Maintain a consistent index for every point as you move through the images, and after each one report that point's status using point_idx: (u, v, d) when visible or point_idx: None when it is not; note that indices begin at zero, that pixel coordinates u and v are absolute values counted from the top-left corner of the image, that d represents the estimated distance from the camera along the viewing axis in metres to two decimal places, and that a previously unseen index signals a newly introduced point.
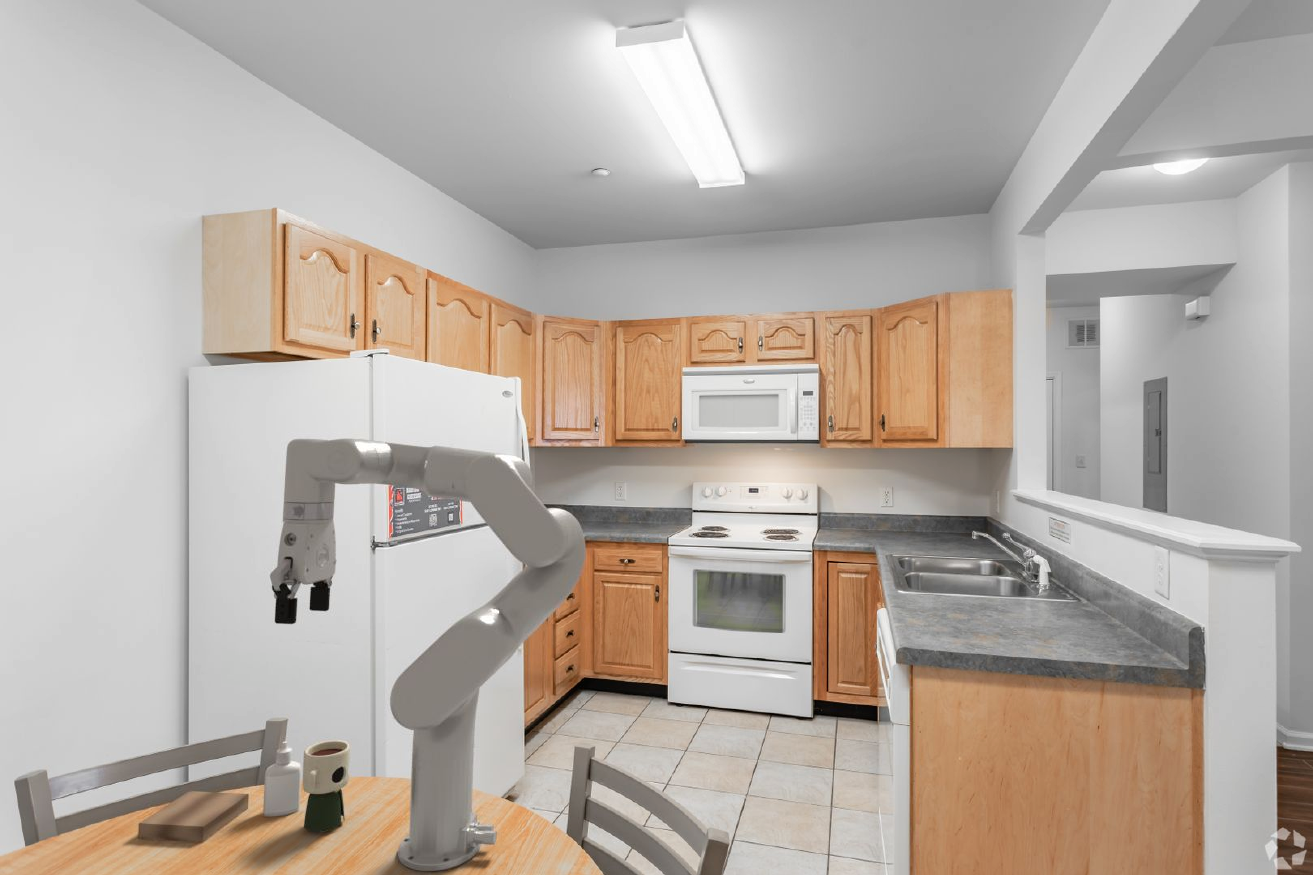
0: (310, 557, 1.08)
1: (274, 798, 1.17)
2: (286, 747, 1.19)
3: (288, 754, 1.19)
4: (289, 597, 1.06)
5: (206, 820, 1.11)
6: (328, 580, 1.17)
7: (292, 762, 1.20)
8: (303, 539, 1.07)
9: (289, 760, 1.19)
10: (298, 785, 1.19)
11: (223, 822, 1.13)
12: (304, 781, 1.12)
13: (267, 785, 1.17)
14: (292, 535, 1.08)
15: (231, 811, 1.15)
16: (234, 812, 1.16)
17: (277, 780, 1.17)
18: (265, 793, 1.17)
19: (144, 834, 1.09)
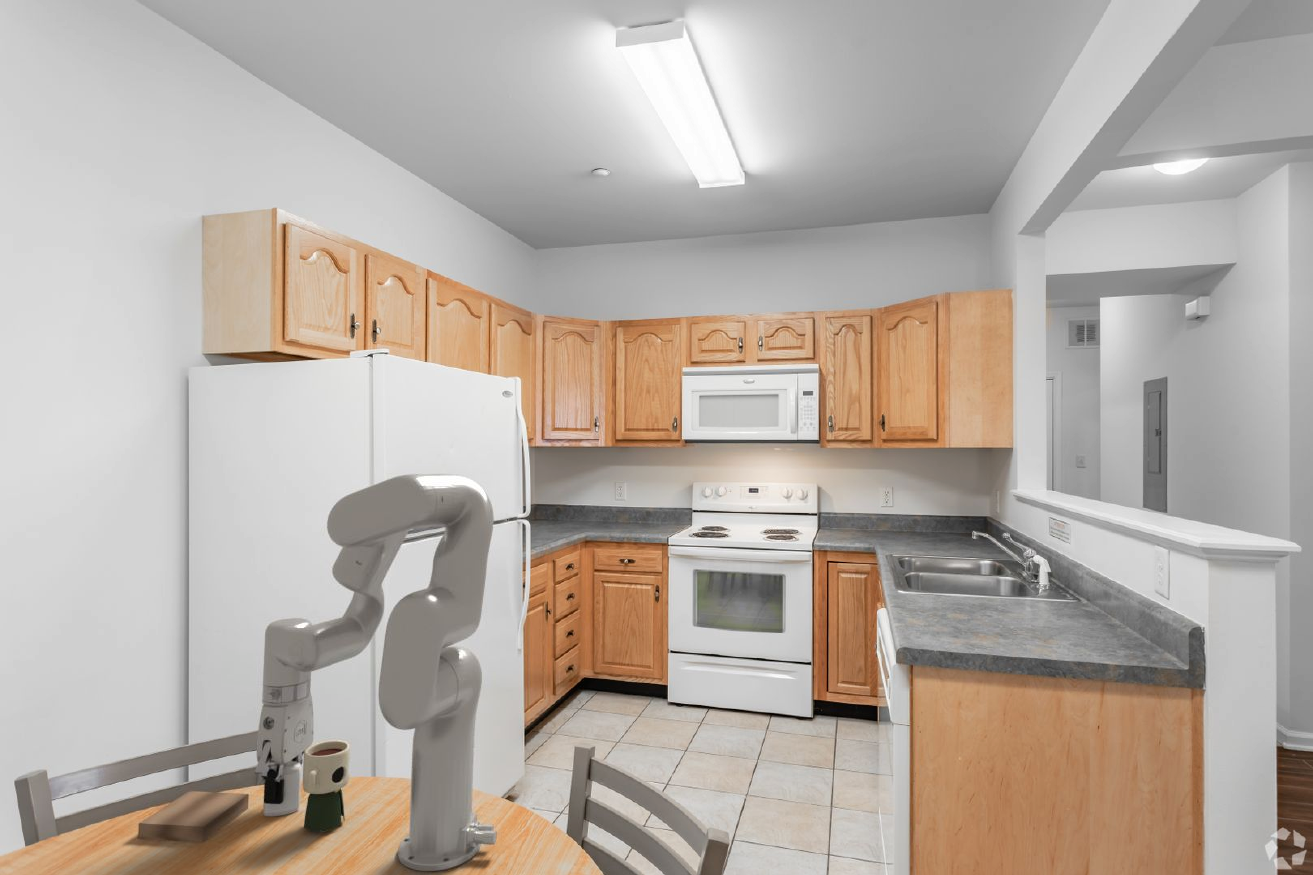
0: (288, 737, 1.16)
1: None
2: None
3: None
4: (277, 781, 1.16)
5: (206, 820, 1.11)
6: (298, 760, 1.21)
7: (292, 762, 1.20)
8: (280, 723, 1.15)
9: None
10: (298, 785, 1.19)
11: (223, 822, 1.13)
12: (304, 781, 1.12)
13: None
14: (270, 717, 1.16)
15: (231, 811, 1.15)
16: (234, 812, 1.16)
17: None
18: None
19: (144, 834, 1.09)
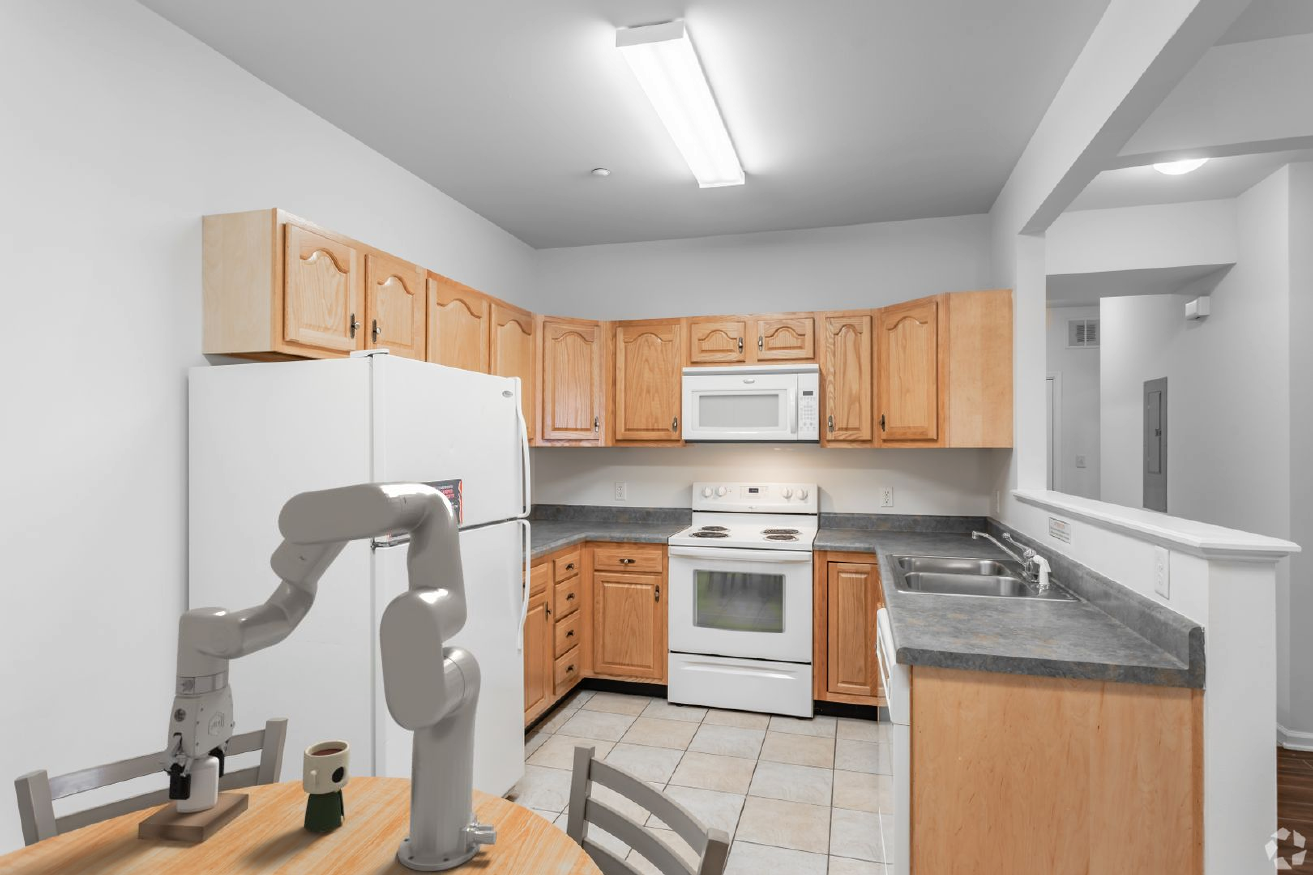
0: (201, 730, 1.12)
1: None
2: None
3: None
4: (182, 775, 1.10)
5: (206, 820, 1.11)
6: (222, 747, 1.19)
7: (209, 757, 1.15)
8: (192, 714, 1.11)
9: (204, 755, 1.15)
10: (214, 780, 1.15)
11: (223, 822, 1.13)
12: (304, 781, 1.12)
13: None
14: (183, 709, 1.12)
15: (231, 811, 1.15)
16: (234, 812, 1.16)
17: (191, 775, 1.13)
18: None
19: (144, 834, 1.09)
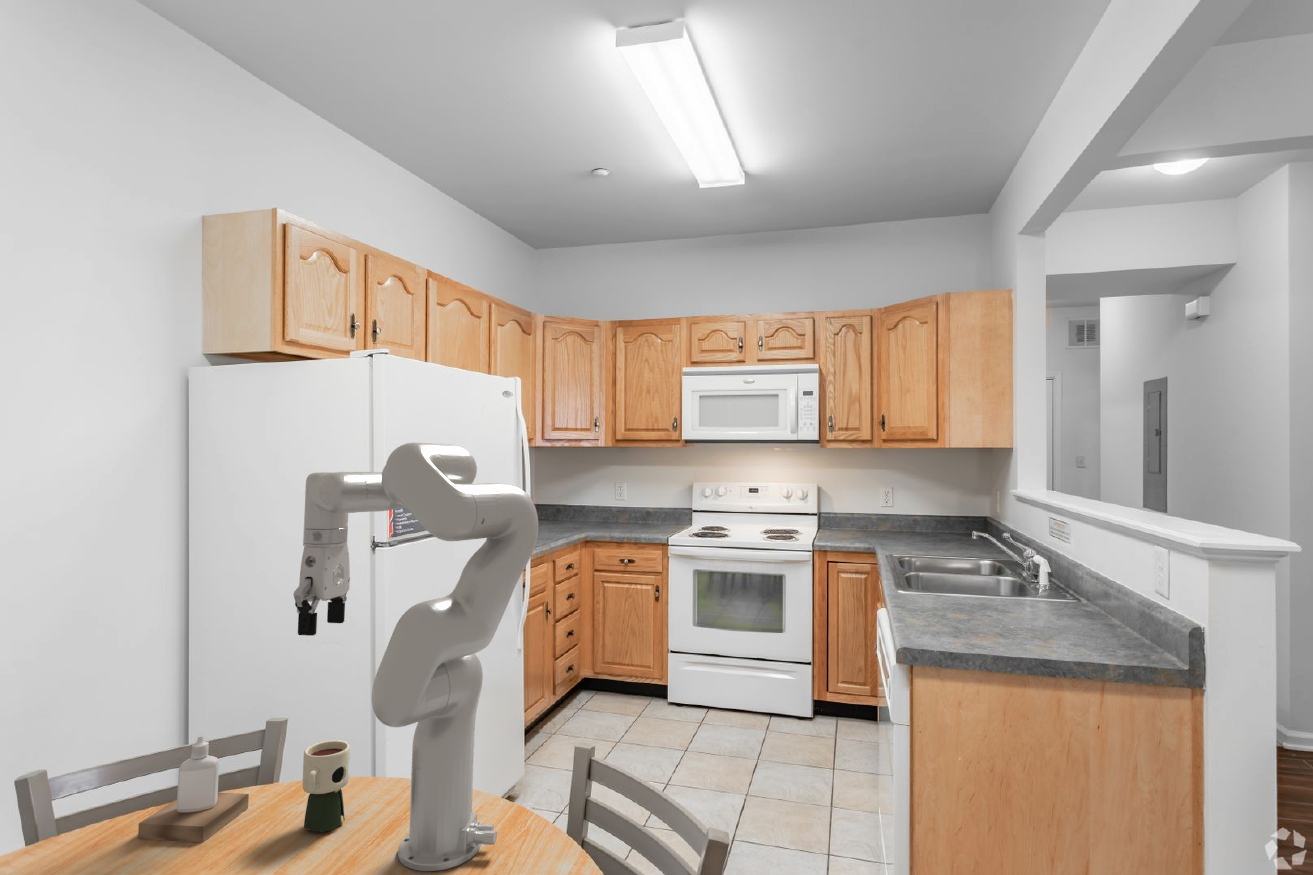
0: (328, 576, 1.24)
1: (188, 793, 1.13)
2: (202, 741, 1.15)
3: (204, 749, 1.15)
4: (310, 612, 1.21)
5: (206, 820, 1.11)
6: (343, 596, 1.32)
7: (209, 757, 1.15)
8: (321, 561, 1.23)
9: (204, 755, 1.15)
10: (214, 780, 1.15)
11: (223, 822, 1.13)
12: (304, 781, 1.12)
13: (181, 780, 1.13)
14: (312, 557, 1.24)
15: (231, 811, 1.15)
16: (234, 812, 1.16)
17: (191, 775, 1.13)
18: (179, 788, 1.13)
19: (144, 834, 1.09)
